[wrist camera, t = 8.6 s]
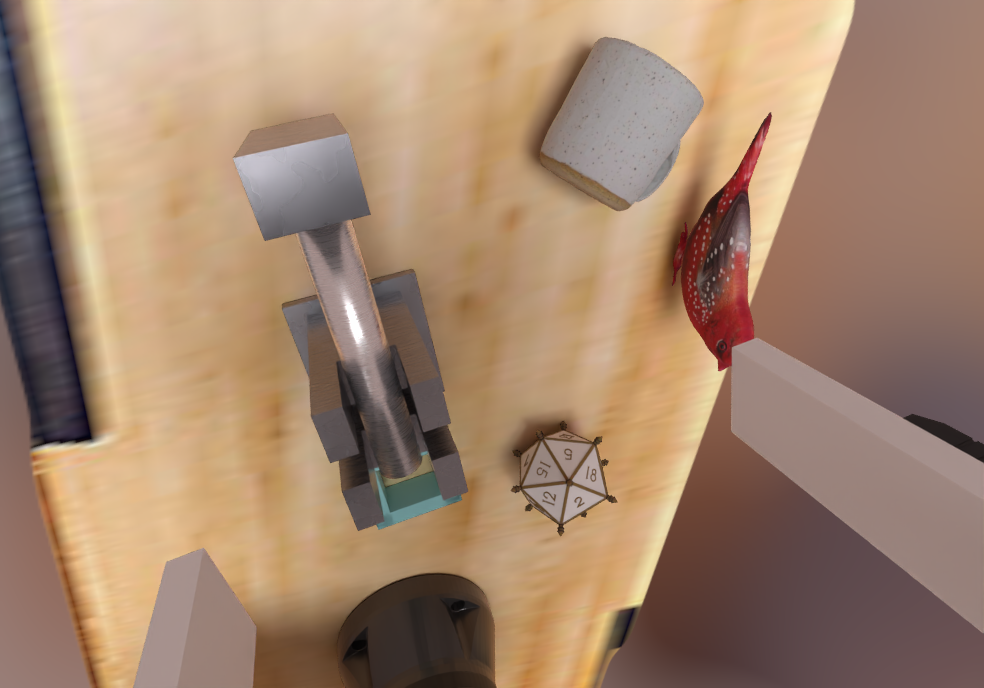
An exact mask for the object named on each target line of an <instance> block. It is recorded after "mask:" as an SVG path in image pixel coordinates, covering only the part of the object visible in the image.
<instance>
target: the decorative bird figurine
mask: <svg viewBox="0 0 984 688" xmlns="http://www.w3.org/2000/svg"><path fill="white" fill-rule="evenodd" d="M771 117H772V115H771V112H770V113H769V115H768V116H767V117H766V118H765V119H764V121H763V123H762V124H761V126H760V128H759V130H758V132H757V134H756V135H755V138H754V139H753V141H752V143H751V145H750V147H749V149H748V150H747V152H746V154H745V156H744V158H743V160H742V162H741V164H740V166H739V167H738V169H737V171H736V172H735V174H734V175H733V176H732V178H731V179H730V180H729V181H728V183H727V184H726V185H725V186H724V187H723V188H722V189H721V190H719V191H718V192H717V193H716V194H715V195H714V196H713V197H712V198H711V199H710V200H709V202H708V203H707V205H706V207H705V209H704V211H703V213H702V215H701V216H700V218H699V220H698V222H697V223H696V225H695V226H694V228H693V229H692V231H691V233H690V235H689V238H688V239H687V240H686V238H687V234H688V229H687V224H686V222H685V232H682V233H681V238H680V243H679V244H678V247H677V252H676V254H675V257H674V261H673V267H674V276H673V283H672V286H673V285H674V283H675V280H676V274H677V271H678V269H679V268H680V267H681V265H682V271H681V284H682V294H683V300H684V304H685V307H686V310H687V313H688V316H689V318H690V320H691V322H692V324H693V326H694V328H695V329H696V330H697V332H698V333H699V334H700V336H701V337H702V339H703V340H704V342H705V344H706V346H707V347H708V349H709V350H710V351H711V353H712V354H713V355H714V356H715V357H716V358H717V359H718V371H722V370H724V369H725V368H727V367H729V366H732V347H734V346H737V345H739V344H742V343H745V342H747V341H750V340H753V339H754V325H753V320H752V316H751V313H750V309H749V304H748V271H749V259H750V246H751V243H750V235H751V227H750V207H749V199H748V186H749V182H750V179H751V177H752V174H753V171H754V168H755V165H756V163H757V159H758V157H759V155H760V151H761V149H762V146H763V143H764V141H765V137H766V134H767V132H768V129H769V126H770V122H771ZM683 236H684V237H683ZM682 260H683V261H682Z"/></svg>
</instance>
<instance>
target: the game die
mask: <svg viewBox="0 0 984 688" xmlns="http://www.w3.org/2000/svg"><path fill="white" fill-rule="evenodd" d="M560 425H561V429H562V430H560V431H557V432H555V433H552V434H549V435H546V436H544V437H543V433H542V431H539V430H537V432H536V435H537V437H538V438H539V440H537V441H536V442H535V443H534V444H533V445H531V446H530V447H529V448H528V449H527V450H525V451H524V452H523V453H520V451H518V450H515V451H513V453H514V456H517V457H520V486H517V485H516V486H513V488H512V490H511V491H512V492H515V493H516V492H519V491H520V490H521V491H522V492H523V494H524V495H525V497H526V498H527V500H528V501H529V503H530V504H528V505H527V506H526V509H525V511H531V509H532V507H534V508H535V509H537V510H538V511H540V512H541V513H543V514H544V515H546V516H547V517H548V518H550V519H551V520H553V521H554V522H556V523H557V524H559V527H558V528H557V529H558V531H557V532H558V533H559V535H560V536H562V534H563V533H564V528H563V525H564V524H566V523H567V522H569V521H571V520H572V519H574V518H576V517H577V516H579V515H581V517H586V515H587V513H586V511H587V510H589V509H591V508H592V507H594V506H596V505H597V504H599V503H601V502H602V501H604V500H606V499H607V500H609V502H611V503H616V502H617V500H616V499H615V497H613V496H612V495H611V496H609V495H608V492H607V487H606V482H605V477H604V472H603V467H602V465H603V466H605V465H606V466H607V464H608V462H609V461H608V460H606V459H604V460H602V461H601V459H600V456H599V452H598V449H597V444H600V442H602V437H596V439H594V442H592V441H589V440H587V439H585V438H582V437H580V436H578V435H575V434H573V433H571V432H568V431H566V430H565V429H566V428H567V427H566V425H567V424H566V423H565V422H564V421H563V422H562V423H561V424H560Z"/></svg>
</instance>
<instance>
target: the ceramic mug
mask: <svg viewBox="0 0 984 688" xmlns="http://www.w3.org/2000/svg"><path fill="white" fill-rule="evenodd" d="M703 104H704V101H703V97H702V96H701V94H700V92H699V90H698V89H697V88H696V86H695V85H694V84H692V82H691V81H690V80H689V79H688V78H687V77H686V76H684V75H683V74H682V73H681V72H679V71H678V70H676V69H675V68H674V67H672V66H671V65H670V64H669V63H667V62H666V61H664V60H663V59H661V58H660V57H659V56H657V55H655V54H654V53H652V52H650V51H648V50H646V49H643V48H640V47H638V46H636V45H635V44H633V43H630V42H628V41H624V40H620V39H617V38H608V37H604V38H600V39H599V40H598V41H597V42H596V43H595V44H594V46H593V48H592V50H591V52H590V54H589V56H588V58H587V60H586V62H585V63H584V65H583V67H582V69H581V71H580V72H579V74H578V76H577V78H576V80H575V82H574V84H573V86H572V88H571V89H570V91H569V93H568V95H567V97H566V99H565V101H564V103H563V105H562V107H561V109H560V110H559V112H558V114H557V116H556V117H555V119H554V121H553V122H552V124H551V126H550V128H549V130H548V132H547V134H546V136H545V139H544V142H543V145H542V148H541V151H540V160H541V164H542V165H543V166H544V167H545V168H547V169H548V170H550V171H551V172H553V173H554V174H556V175H557V176H559V177H560V178H562V179H564V180H565V181H567V182H569V183H570V184H572V185H573V186H575V187H576V188H578V189H580V190H582V191H583V192H585V193H586V194H588V195H590V196H591V197H593V198H595V199H596V200H598V201H600V202H601V203H603V204H605V205H607V206H608V207H610V208H612V209H614V210H616V211H623V210H626V209H628V208H629V207H630V206H631V205H632V204H634V203H635V202H638V201H641V200H643V199H645V198H647V197H648V196H650V195H651V194H652V193H653V192H654V191H655V190H656V189H657V188H658V187H659V186H660V185H661V184H662V183H663V181H664V180H665V179H666V177H667V176H668V174H669V173H670V171H671V169H672V167H673V165H674V163H675V161H676V158H677V156H678V153H679V148H680V139H681V138H682V137H683V135H684V134H685V133H686V131H687V130H688V128H689V127H690V125H691V124H692V122H693V121H694V120H695V118H696V117H697V115H698V114H699V113H700V111H701V109H702V107H703Z"/></svg>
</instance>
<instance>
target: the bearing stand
mask: <svg viewBox="0 0 984 688" xmlns="http://www.w3.org/2000/svg"><path fill="white" fill-rule="evenodd" d="M369 281H370V285H371V288H372V291H373V295H374V298H375V301H376V305H377V308H378V311H379V315H380V318H381V321H382V325H383V328H384V331H385V335H386V338H387V341H388V345H389V348H390V351H391V355H392V358H393V362H394V365H395V368H396V372H397V375H398V378H399V382H400V385H401V388H402V392H403V395H404V398H405V402H406V405H407V408H408V412H409V415H410V418H411V422H412V425H413V428H414V432H415V435H416V439H417V442H418V445H419V449H420V452H421V453H422V452H425V451H427V454H428V457H429V460H430V463H431V466H432V469H433V472H434V475H435V478H436V481H437V484H438V487H439V490H440V493H441V496H442V499H443V501H444V500H446V499H449V498H452V497H455V496H458V495H461V494H463V493H466V492H468V489H467V485H466V481H465V477H464V473H463V469H462V465H461V461H460V457H459V453H458V450H457V448H456V446H455V443H454V441H453V438H452V436H451V434H450V431H449V429H448V426H447V424H450V423H451V422H450V418H449V414H448V410H447V406H446V402H445V398H444V394H443V392H444V391H445V390H444V386H443V382H442V379H441V375H440V371H439V367H438V363H437V359H436V355H435V351H434V347H433V343H432V339H431V335H430V331H429V327H428V323H427V319H426V315H425V311H424V307H423V303H422V299H421V295H420V291H419V287H418V283H417V279H416V275H415V272H414V270H413V269H410V270H406V271H403V272H399V273H395V274H392V275H388V276H384V277H380V278H377V279H373V280H369ZM282 310H283V313H284V315H285V318H286V321H287V323H288V326H289V328H290V331H291V333H292V336H293V338H294V341H295V343H296V346H297V348H298V351H299V353H300V356H301V358H302V361H303V364H304V366H305V369H306V371H307V374H308V376H309V380H310V403H311V417H312V420H313V422H314V425H315V427H316V430H317V432H318V434H319V437H320V439H321V442H322V444H323V447H324V449H325V451H326V454H327V456H328V459H329V461H330V463H332V462H335V461H338V460H339V468H340V478H341V487H342V493H343V495H344V498H345V500H346V503H347V505H348V507H349V510H350V512H351V515H352V517H353V520H354V522H355V524H356V527H357V529H358V531H359V530H362V529H365V528H368V527H371V526H373V525H376V524H379V523H382V522H385V520H384V515H383V510H382V505H381V500H380V494H379V489H378V484H377V479H376V474H375V468H378V465H377V462H376V459H375V456H374V453H373V451H372V448H371V445H370V442H369V439H368V437H367V434H366V431H365V428H364V425H363V422H362V420H361V417H360V414H359V411H358V408H357V406H356V403H355V400H354V397H353V394H352V392H351V389H350V386H349V383H348V380H347V377H346V375H345V372H344V369H343V366H342V363H341V361H340V358H339V355H338V352H337V349H336V346H335V344H334V341H333V338H332V335H331V332H330V330H329V327H328V324H327V321H326V318H325V315H324V313H323V310H322V307H321V304H320V301H319V299H318V296H317V295H314V296H310V297H307V298H303V299H299V300H295V301H292V302H288V303H284V304H282Z"/></svg>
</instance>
